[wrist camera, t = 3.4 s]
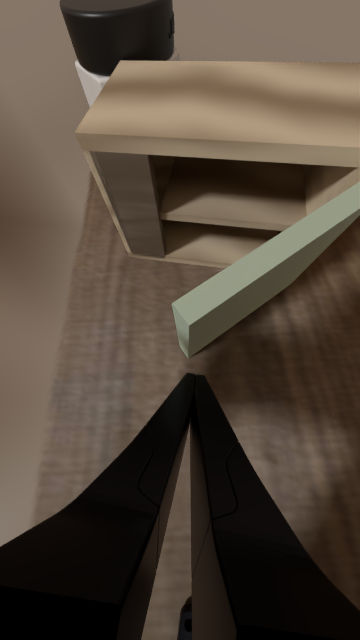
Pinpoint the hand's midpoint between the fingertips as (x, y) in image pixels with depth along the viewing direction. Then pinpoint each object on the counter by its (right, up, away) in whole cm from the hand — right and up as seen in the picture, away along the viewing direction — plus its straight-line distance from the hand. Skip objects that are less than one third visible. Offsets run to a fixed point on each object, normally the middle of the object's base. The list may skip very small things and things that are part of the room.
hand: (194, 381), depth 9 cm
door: (+5, +3, +8) cm, 10 cm away
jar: (-5, +22, +16) cm, 28 cm away
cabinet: (+3, +13, +12) cm, 17 cm away
